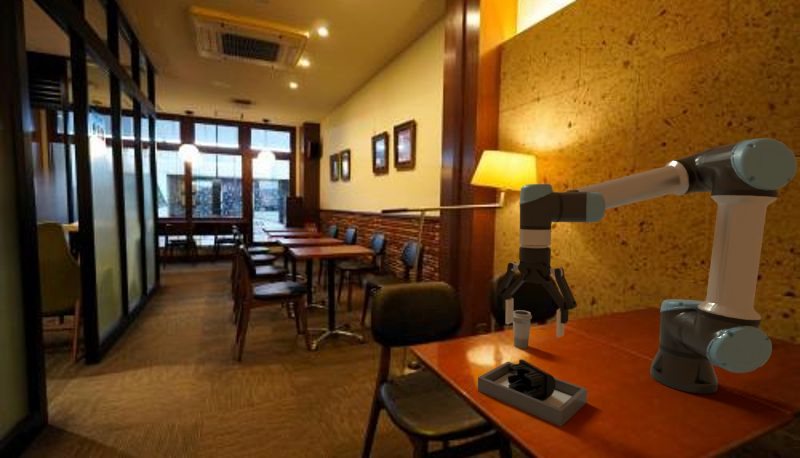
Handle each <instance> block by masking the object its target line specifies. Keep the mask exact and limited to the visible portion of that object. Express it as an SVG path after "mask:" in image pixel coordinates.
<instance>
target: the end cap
mask: <svg viewBox="0 0 800 458" xmlns="http://www.w3.org/2000/svg"><path fill="white" fill-rule="evenodd" d="M508 371H509V372H511V371H517V373H516V374H515V375H510V376H508V382H509V388H511V389H513V390H516V391H518V392H521V393H523V394H525V395H528V396H530V397H533V398H535V399H538V400H540V401H544V400H546V399H547V398H549V397H550V396H551V395H552V394H553V392H554V390H555V386H556V382H555V379H554V378H555V377H554V376H553V375H552V374H550V373H548V372H547V371H545V370H543V369H541V368H539V367H537V366H536V365H534V364H532V363H530V362H528V361H527V360H525V359H519V361H518V363H514V365H509V366H508Z"/></svg>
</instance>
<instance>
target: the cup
mask: <svg viewBox="0 0 800 458" xmlns="http://www.w3.org/2000/svg"><path fill="white" fill-rule="evenodd" d="M532 319H533V315H532V314H531V312H530V311H527V310H522V309H521V310H520V309H519V310H518V309H517V310H516V309H515V310H513V323H512V332H513V335H512V336H513V346H514V347H515V348H517V349H520V350H521V349H523V350H525V349H528V348H529V339H530V334H531V333H530V332H531V325H532V324H531V323H532V322H531V320H532Z"/></svg>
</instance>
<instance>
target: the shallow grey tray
mask: <svg viewBox="0 0 800 458" xmlns="http://www.w3.org/2000/svg"><path fill="white" fill-rule="evenodd" d="M514 364H515V362H511V361H506V362H505V363H502V364H500V365H499V366H497V367H495V368H493V369H491V370H489V371H488V372H486V373H484V374H482V375H480V376H478V377H477V392H480V393H482V394H485V395H487V396H489V397H492V398H494V399H496V400H498V401H500V402H502V403H505V404H507V405H509V406H511V407H512V406H513V407H514V408H516V409H519V410H521V411H523V412H526V413H528V414H530V415H532V416H534V417H537V418H539V419H541V420H544V421H546V422H549V423H550V424H553V425H555V426H558V427H559V428H561V427H563V426H564V424H566V422H568V421H569V420H570V419H572V417H573V416H574V415H575V414H576V413H577V412H579V410H580V409H582V408H583V407H584V406H585V405H586V404H587V400H588V399H587V398H588V395H587V394H588V389H587V388H585V387H583V386H580V385H578V384H574V383H572V382H568V381H566V380H563V379H560V378H557V377H554V379H555V382H556V386H555V390H554V392H553V394H552V395H551V396H550V397H549V398H547V399H546V400H544V401H540V400H538V399H535V398H533V397H530V396H528V395H525V394H523V393H521V392H518V391H516V390H513V389H511V388H509V382H508V376H510V375H515V374H516V373H517V371H511V372H509V371H508V366H509V365H514Z"/></svg>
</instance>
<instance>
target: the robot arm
mask: <svg viewBox="0 0 800 458" xmlns="http://www.w3.org/2000/svg"><path fill="white" fill-rule="evenodd" d="M797 163H798V162H797V159H796V155H795V153H794V152H793V151H792V149H791V148H789V147H788V146H787V145H786V144H785V143H784V142H782V141H779V140H778V139H774V138H770V137H763V138H762V137H761V138H754V139H744V140H741V141H737V142H733V143H729V144H725V145H717V146H714V147H711V148H707V149H704V150H701V151H699V152H697V153H694V154H691V155H688V156H686V157H681V158H679V159H675V160H671V161H669V162H667V163H666V164H665V166H662V167H658V168H655V169H650V170H647V171H643V172H638V173H634V174H631V175H627V176H623V177H619V178H616V179H615V178H614V179H611V180H607V181H603V182H599V183H596V184H592V185H591V184H590V185H587V186H583V187H579V188H575V189H573V190H568V191H563V192H558V191H554V189H553V187H552V185H551V184H549V183H533V184H531V183H529V184H524V185H523V186H521V188H520V192H519V193H520V194H519V195H520V196H519V202H518V203H519V232H518V233H519V237H518V239H519V240H518V244H519V245H520V246H519V247H518V255H519V256H518V260H519V263H517V262H515V261H513V262H508V263H507V267H506V268H507V269H506V272H505V274H504V276H503V277H502V279H501V282H500V284H499V287H498V288H497V290H496V295H497V296H500V297H501V298H502V310H503V311H505V325H510V324H513V312H514V306H515V305H514V304H515V303H514V298H513V297H512V296H513V295H515V293H516V292H517V290H519V289H520V287H521V286H522V285H523V284H525V282H526V283H532V284H535V285H540V284H541V285H542V287H543V288H545V290H546V292H548V294H549V295H550V297H551V298H552V300H553V302H555V303H556V305H557V306H558V309H556V323H555V324H556V327H555V328H556V330H555V335H556V336H555V337H556V338H561V337H563V336H564V335H565V325H566V324H568V322H569V312H570V311H569V310H573V309H576V308H577V307H578V304H577V301H576V299H575V296H574V294H573V293H572V290H571V288H570V286H569V284H568V282H567V279H566V277H565V269H564V268H563V267H557V268H552V266H551V262H552V261H551V260H552V259H551V258H552V248H551V247H550V246H551V245H552V225H553V224H552V223H586V224H588V223H598V222H600V221H601V220H603V218H604V216H605V214H606V210H609V209H613V208H617V207H621V206H625V205H629V204H634V203H638V202H642V201H647V200H651V199H654V198H660V197H663V196H667V195H673V194H674V195H675V196H683V195H688V194H694V193H709V192H711V193H710V198H711V199H712V201H714V202H715V203H716V204H717V210H716V218H715V226H714V235H713V240H712V241H713V242H712V250H711V258H710V259H711V260H710V267H709V274H708V282H707V291H706V299H705V300H704V301H703V300H693V299H677V298H673V299H672V298H671V299H670V298H669V299H665V300H662V303H661V306H660V311H659V313H660V316H659V317H660V322H659V340H658V341H659V345H658V350H657V352H656V353H655V356H654V358H653V360H652V363H651V365H650V372H649V373H650V376H651V377H652V379H654V380H655V381H657V382H659V383H660V384H662V385H664V386H666V387H669V388H672V389H675V390H679V391H682V392H687V393H692V394H698V395H699V394H701V395H707V394H714V393H716V392H717V391H718V388H719V387H718V386H719V380H718V377H717V373H716V372H715V371H716V370H715V368H714V366H716V367H718V368H720V369H721V368H722V369H724V370H725V371H728V372H731V373H734V374H735V373H737V374H745V373H749V372H753V371H756V370H757V369H758V368H761V367H763V366H764V365H765V364H766V363H767V362H768V360H769V359H770V357H771V355H772V351H773V344H772V341H771V339H770V338H769V337H768V334H767V333H766V332H765V331H763V330H762V329H761V323H762V315H760V313H758V312H757V311H756V310H755V308H754V306H755V298H756V289H757V283H758V276H759V270H760V269H759V268H760V267H759V266H760V260H761V253H762V244H763V237H764V231H765V229H764V228H765V224H766V223H765V222H766V213H767V208H768V207H769V205H771V204H772V203H773V202H775V201H777V200H778V195H779V189H781V188H783V187H785V186H786V185H788V184H789V182H791V181H792V180H793V179H794V177H795V175H796V172H797V169H798V164H797ZM517 271H518V272H519V273H520V274H519V276H518V277H517V278H516V279H515V281H514V282H513V283H512V284H511V285H510V283H511V282H512V280H513V278H514V275H515V274H516V272H517ZM551 275H552V276H553V277H554V278H555V282H556V284H557V286H558V288H557V286H556V285H555V284H554V281H553V279H551V277H550V276H551Z"/></svg>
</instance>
